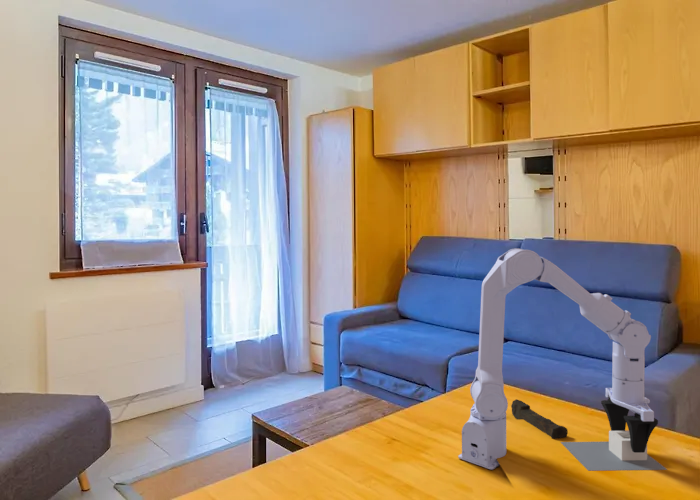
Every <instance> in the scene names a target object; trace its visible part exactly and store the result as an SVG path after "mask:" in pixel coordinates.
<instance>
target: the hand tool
mask: <svg viewBox="0 0 700 500" xmlns="http://www.w3.org/2000/svg"><path fill="white" fill-rule="evenodd" d="M510 406H511V413H512V416H513V417H514V418H515V419H516V420H521V421H522V420H524V421H525V422H527V423H529V424H530V425H532V426H533V427H535V428H536V429H537V430H539V431H541V432H542V433H544V434H545V435H547V436H549V437H551V439H553V440H555V439H556V440H559V439H565V438H567V437H568V428H566V427H565V426H564V425H559V424H557V423H555V421H552V419H549V418H546V417H544V416H543V415H541V414H540V413H537V412H536V411H534V410H532V409H531V406H530V405H529V404H527V403H525V402H524V401H522V400H520V399H515V400H512V403H511V405H510Z"/></svg>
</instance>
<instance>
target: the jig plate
mask: <svg viewBox="0 0 700 500" xmlns="http://www.w3.org/2000/svg"><path fill="white" fill-rule="evenodd" d="M625 439H626V438H625ZM560 443H561V445H562V446H564V447H565V449H566V450H567V451H569V453H570V454H571V455H572V456H573V457H574V458H575V459H576V460H577V461H578V462H579V463H580V464H581V465H582V467H584V468H585V469H586V470H587V471H594V472H595V471H597V472H598V471H602V472H604V471H605V472H606V471H663V470H664V471H665V470H667V471H668V468H666V467H665V466H663V465H662V464H661V463H659V461H657V460H656V459H654V458H653V457H652V456H650V455H649V454H648V453H647V460H625V461H622V460H621V459H619V458H618V457H617V456H616V455H615V454H613V453H612V452H611V451H610V450H609V441H560Z"/></svg>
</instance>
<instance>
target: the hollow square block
mask: <svg viewBox="0 0 700 500" xmlns="http://www.w3.org/2000/svg"><path fill="white" fill-rule="evenodd" d="M625 438H626V439H625ZM608 442H609V450H610V451H611V452H612V453H613V454H615V455H616V456H617V457H618V458H619V459H621V460H622V461H625V460H647V454H648V445H647V446H646V449H645V452H640V453H635V452H633V451H632V448H631V442H630V433H629V429H628V430H626V429H625V431H611V430H609V431H608Z"/></svg>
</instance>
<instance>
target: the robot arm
mask: <svg viewBox="0 0 700 500" xmlns="http://www.w3.org/2000/svg"><path fill="white" fill-rule="evenodd" d="M534 280H535V281H538V282H542V283H548V284H549V285H551V286H552V287H554V288H555V289H556V290H558V291H559V292H561V293H562V294H563V295H565V296H566V297H568V298H569V299H570V300H572V301H573V302H575V303H576V304H577V305H579V306H578V307H579V312H580V314H581V316H582V317H583V318H585V319H587V321H589V322H590V323H591V324H593V325H594V326H596V327H597V328H598V329H599V330H601V331H602V332H603V333H605V334H607V336H608V338H609V340H612V353H611V354H612V362H611V363H612V365H611V366H612V367H611V368H612V375H611V381H612V382H611V387H605V398H607V399H604V400H601V402H600V403H601V406H602V407H603V410H604V411H605V413H606V416H607V420H608V423H609V428H610V431H626V426H627V429H628V430H629V433H630V442H631V448H632V451H633V452H635V453H640V452H645V449H646V446H647V447H648V441H649V439H650V437H651V434H652V433H653V431H654V429H655V428H656V427H657V426H658V425H659V420H658V419H657V418H655V411H654V410H652V409H651V407H650V406H649V405H648V404H650V403H651V400H650V399H649V398H647V397H645V375H646V374H645V371H646V370H645V366H646V365H645V364H646V363H645V357H646V356H645V349H646V347H648V345H649V344H650V342H651V340H652V339H651V338H652V335H651V334H649V330H648V327H647V326H646V325H645V324H644V323H643V322H641V321H639V320H636V319H633V318H631V315H632V313H631V312H630V311H628V310H626V309H625V310H623V309H622V308H621V307H619V306H618V305H617V304H615V303H614V302H613V301H612V300H613V297H611V296H610V295H609V294H606V293H605V294H603V293H601V292H593V293H590V292H589V291H588V290H587V289H586V288H584V287H583V286H582V285H580V284H579V283H578V281H576V280H575V279H574V278H572V276H570V275H568V274H567V273H566V272H565V271H563V270H562V269H561V268H559V266H557V265H556V264H555V263H553V262H552V261H550V260H549V259H547V258H546V257H543V256H540V255H539V254H538V253H537V252H535V251H533V250H531V249H523V248H517V247H516V248H511V249H509V250H507V251H506V252H504V253H502V254H501V255H500V256H498V257H497V259H496V261H495V263H494V265H493V266H492V267H491V269H490V270H489V272H488V273H487V275H485V277H484V278H483V281H482V283H481V292H480V310H479V311H480V314H479V315H480V316H479V317H480V318H479V335H478V336H479V337H478V358H477V360H478V361H477V367H476V369H475V377H474V379H473V381H472V383H471V385H470V387H469V390H470V396H471V398H472V400H473V402H474V403H473V405H472V407H471V408H470V414H469V415H470V416H469V417H468V420H467V421H466V422H465V423H464V425H463V426H462V429H461V453H460V454H459V455H457V456H458V459H461V460H463V461H466V462H469V463H471V464H474V465H477V466H480V467H483V468H485V469H488V470H492V471H493V470H494V469H496V468H497V467H499V466H501V464H500V463H499V460H498V459H500V458H503V457H505V456H506V454H507V410H508V406H509V405H508V403H509V402H508V398H507V396H506V395H505V391H504V390H505V389H504V388H505V387H504V386H505V385H504V377H503V360H504V359H503V358H504V357H503V355H504V340H505V339H504V338H505V337H504V335H505V316H506V315H505V314H506V313H505V312H506V298H507V295H508V294H509V293H510V292H512V291H513V290H515V288H517V287H518V286H520V285H521V286H522V285H524V284H526V283H530V282H531V281H534ZM630 411H631V412H632V413H634V415H629V412H630Z"/></svg>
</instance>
